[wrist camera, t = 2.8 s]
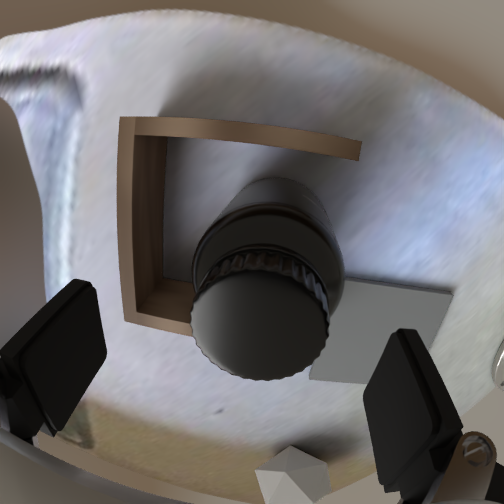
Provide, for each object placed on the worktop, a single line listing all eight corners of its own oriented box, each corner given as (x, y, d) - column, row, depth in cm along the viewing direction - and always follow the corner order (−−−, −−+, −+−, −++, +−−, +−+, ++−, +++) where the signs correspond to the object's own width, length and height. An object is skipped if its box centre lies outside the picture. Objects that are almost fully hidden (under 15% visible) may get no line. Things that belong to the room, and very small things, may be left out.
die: (245, 448, 33) (251, 514, 28) (271, 451, 26) (279, 532, 21) (304, 440, 35) (310, 502, 30) (340, 438, 29) (347, 512, 23)
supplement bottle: (340, 193, 20) (399, 275, 9) (307, 282, 22) (316, 415, 11) (240, 162, 20) (178, 207, 9) (216, 254, 22) (153, 371, 11)
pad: (450, 291, 21) (453, 295, 21) (407, 381, 25) (409, 385, 25) (338, 275, 22) (339, 279, 21) (308, 374, 26) (309, 379, 25)
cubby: (344, 138, 18) (361, 141, 14) (308, 313, 23) (311, 355, 19) (156, 117, 19) (119, 116, 14) (151, 286, 24) (124, 321, 20)
